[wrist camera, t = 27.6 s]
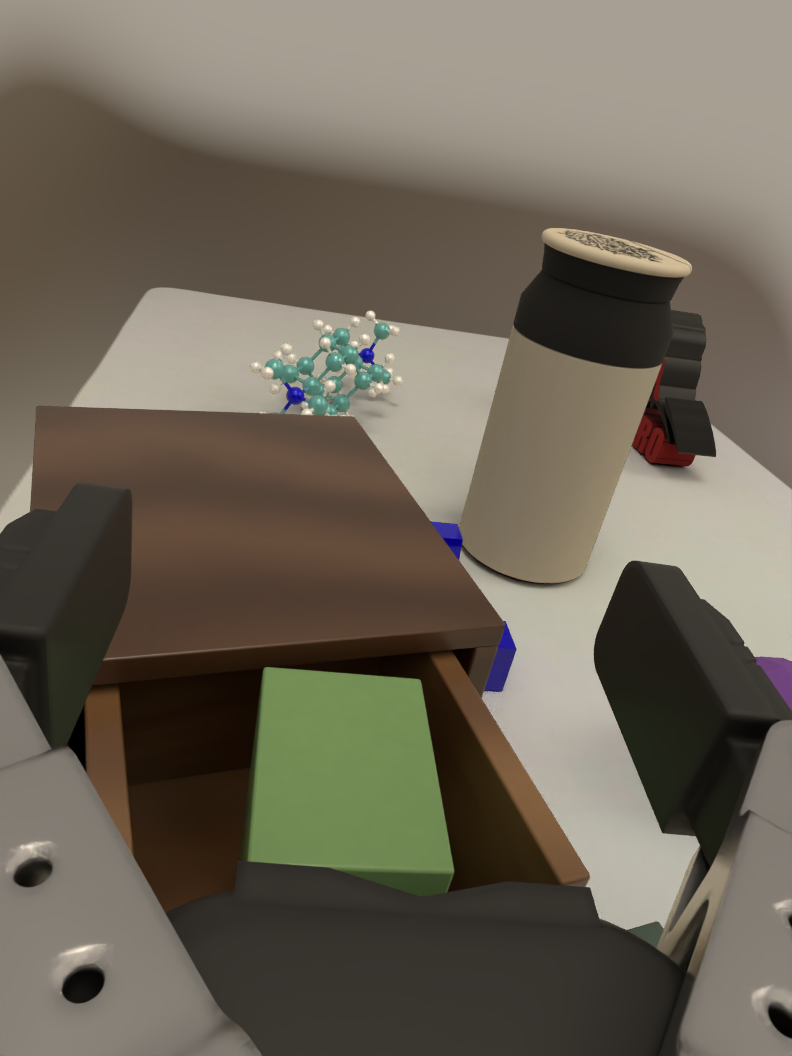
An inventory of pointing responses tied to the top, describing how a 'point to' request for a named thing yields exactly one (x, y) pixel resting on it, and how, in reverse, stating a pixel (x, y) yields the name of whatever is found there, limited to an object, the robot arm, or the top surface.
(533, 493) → the travel mug
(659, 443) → the extruded letter emblem
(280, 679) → the green rectangular block
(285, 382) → the molecule model
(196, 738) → the drawer
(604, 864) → the top surface
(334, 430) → the cabinet
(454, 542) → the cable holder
